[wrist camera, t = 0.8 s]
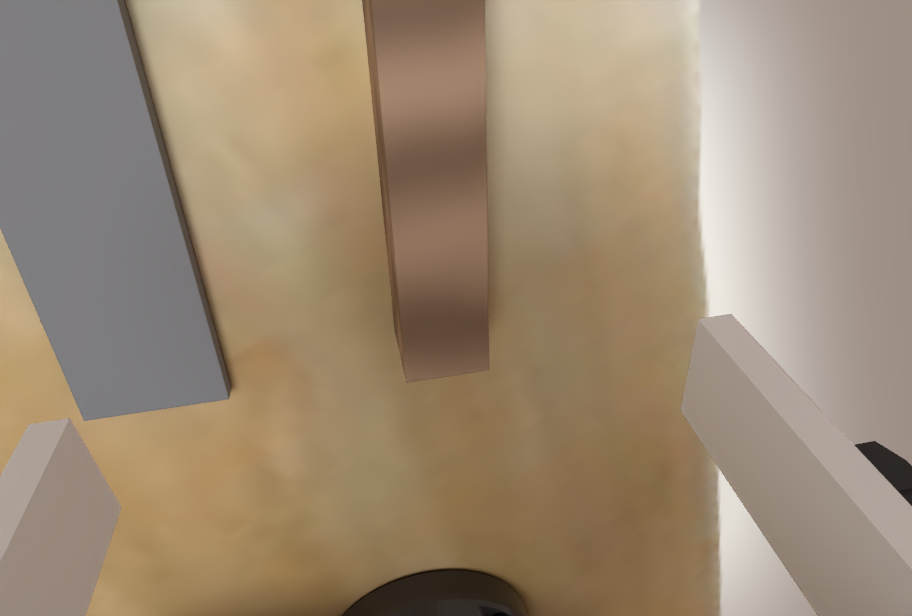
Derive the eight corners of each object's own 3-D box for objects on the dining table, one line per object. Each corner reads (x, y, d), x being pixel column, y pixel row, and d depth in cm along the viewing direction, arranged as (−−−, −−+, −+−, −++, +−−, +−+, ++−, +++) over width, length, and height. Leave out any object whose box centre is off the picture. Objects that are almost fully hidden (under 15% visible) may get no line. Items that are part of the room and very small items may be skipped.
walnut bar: (466, 319, 34) (489, 370, 30) (394, 328, 34) (406, 382, 29) (452, -121, 24) (482, -138, 20) (350, -118, 24) (358, -136, 19)
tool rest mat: (231, 387, 33) (229, 399, 32) (90, 408, 32) (84, 421, 31) (74, -181, 21) (64, -187, 20) (-158, -178, 20) (-179, -184, 19)
